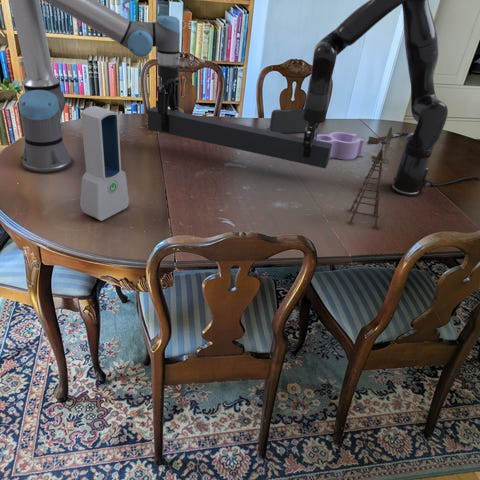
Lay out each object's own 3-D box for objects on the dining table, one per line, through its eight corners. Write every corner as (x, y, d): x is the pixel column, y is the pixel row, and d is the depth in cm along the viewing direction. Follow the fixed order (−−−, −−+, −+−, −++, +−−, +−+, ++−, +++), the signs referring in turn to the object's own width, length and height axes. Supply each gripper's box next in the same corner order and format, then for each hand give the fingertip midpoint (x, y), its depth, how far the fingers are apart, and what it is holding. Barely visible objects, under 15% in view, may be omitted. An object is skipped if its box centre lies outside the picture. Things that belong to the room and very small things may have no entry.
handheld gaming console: (314, 130, 214) (318, 108, 209) (317, 132, 212) (321, 110, 207) (268, 131, 207) (271, 109, 202) (270, 133, 205) (273, 111, 200)
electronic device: (98, 222, 131) (90, 118, 115) (80, 214, 134) (69, 111, 118) (130, 206, 140) (126, 108, 124) (111, 198, 143) (105, 101, 127)
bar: (147, 129, 176) (147, 110, 172) (154, 125, 180) (153, 106, 176) (325, 168, 161) (329, 148, 156) (328, 163, 165) (332, 143, 161)
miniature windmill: (376, 228, 143) (404, 134, 127) (348, 223, 144) (372, 129, 128) (375, 214, 150) (401, 124, 134) (349, 209, 151) (371, 119, 135)
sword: (405, 131, 223) (406, 129, 223) (410, 133, 221) (411, 131, 221) (362, 143, 208) (363, 140, 207) (367, 145, 206) (368, 143, 205)
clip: (320, 160, 184) (324, 144, 180) (307, 148, 194) (310, 132, 190) (364, 158, 190) (368, 142, 186) (349, 146, 200) (352, 131, 196)
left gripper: (166, 71, 155) (166, 138, 168) (189, 62, 170) (187, 124, 182) (146, 68, 157) (147, 134, 170) (170, 58, 172) (170, 120, 184)
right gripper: (323, 113, 147) (314, 163, 156) (331, 102, 158) (322, 149, 168) (300, 109, 149) (292, 159, 158) (309, 98, 160) (301, 145, 169)
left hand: (168, 128), depth 176 cm, fingers closed on bar, 5 cm apart
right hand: (307, 154), depth 163 cm, fingers closed on bar, 5 cm apart
